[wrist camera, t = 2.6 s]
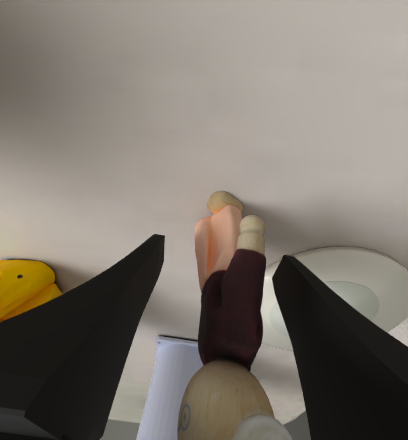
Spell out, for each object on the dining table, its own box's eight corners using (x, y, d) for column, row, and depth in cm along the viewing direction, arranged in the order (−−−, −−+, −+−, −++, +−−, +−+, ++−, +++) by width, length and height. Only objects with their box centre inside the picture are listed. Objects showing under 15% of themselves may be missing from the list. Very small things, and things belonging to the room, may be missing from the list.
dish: (344, 350, 22) (350, 360, 21) (225, 332, 21) (226, 342, 21) (455, 263, 14) (472, 273, 13) (267, 232, 13) (272, 240, 13)
